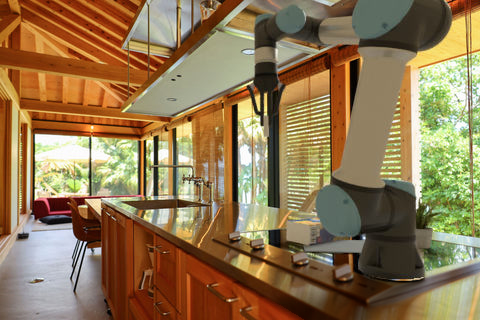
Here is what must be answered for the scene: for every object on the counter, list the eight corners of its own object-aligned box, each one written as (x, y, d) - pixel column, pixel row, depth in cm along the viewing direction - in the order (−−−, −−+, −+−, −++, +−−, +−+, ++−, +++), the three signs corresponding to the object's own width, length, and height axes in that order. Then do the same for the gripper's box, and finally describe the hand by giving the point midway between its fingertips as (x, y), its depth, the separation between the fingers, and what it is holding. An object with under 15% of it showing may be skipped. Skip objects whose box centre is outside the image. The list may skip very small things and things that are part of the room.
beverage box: (286, 240, 120) (326, 234, 133) (309, 245, 111) (350, 239, 124) (286, 220, 121) (327, 217, 133) (309, 224, 112) (350, 220, 125)
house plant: (417, 253, 103) (417, 200, 103) (386, 243, 116) (386, 196, 117) (455, 250, 107) (454, 198, 107) (420, 241, 120) (420, 195, 121)
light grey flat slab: (378, 254, 102) (378, 252, 102) (304, 252, 105) (304, 250, 105) (364, 241, 120) (364, 240, 120) (301, 240, 122) (301, 238, 122)
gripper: (286, 66, 113) (286, 137, 112) (247, 68, 114) (247, 137, 114) (286, 59, 105) (286, 134, 105) (244, 61, 107) (244, 135, 106)
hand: (266, 136), depth 109 cm, fingers closed
